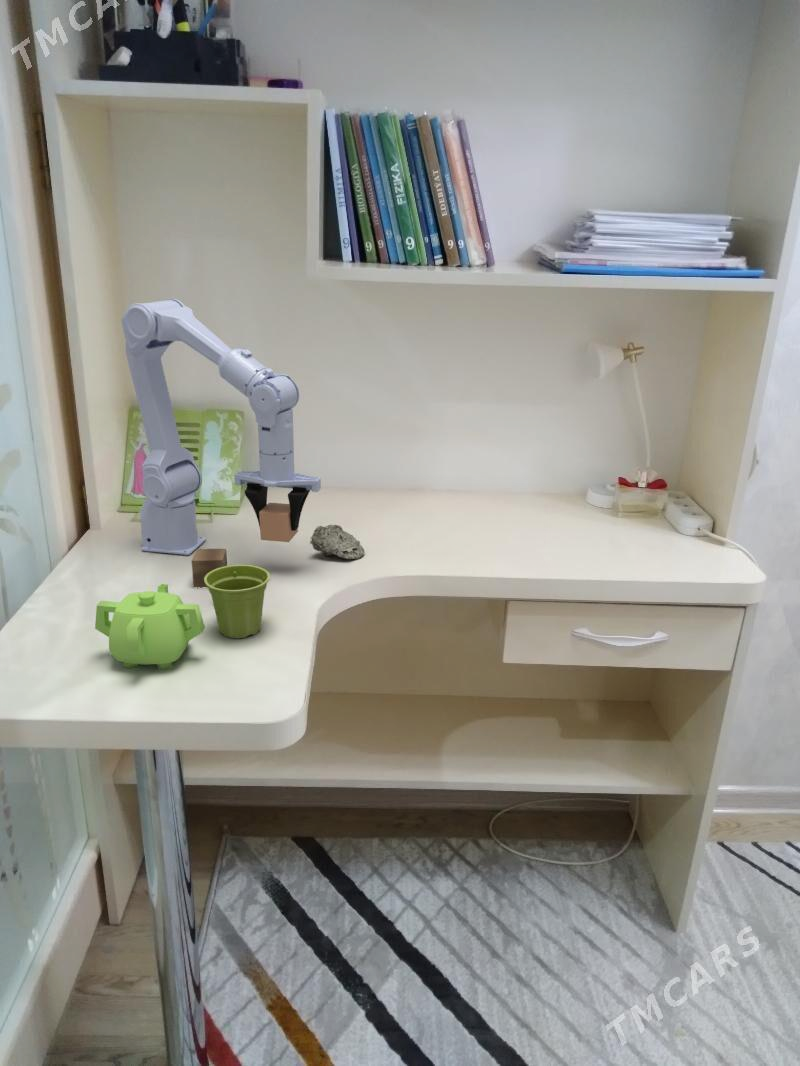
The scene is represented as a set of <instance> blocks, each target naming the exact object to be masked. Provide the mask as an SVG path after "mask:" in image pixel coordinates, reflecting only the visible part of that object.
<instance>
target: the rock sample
mask: <svg viewBox="0 0 800 1066" xmlns="http://www.w3.org/2000/svg"><path fill="white" fill-rule="evenodd" d="M309 545H311V546H312V548H313V549H314V550H315V551H318V552H320V553H322V554H323V555H324V556H332V555H334V556H337V557H339V558H343V559H345V560H359V559H360V558H361V557H363V555H364V554H365V549H364V547H363V546H362V545H361V542H360V541H359V540H358V539H357V537H354V535H353V534H350V533H349V532H347V531H344V530H343V528H342V526H341V525H337V524H328V525H325V526H322V525H317V526H316V528H315V530H314V531H313V533H312V536H311V539H310V541H309ZM331 554H332V555H331Z"/></svg>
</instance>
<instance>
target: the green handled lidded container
mask: <svg viewBox="0 0 800 1066" xmlns="http://www.w3.org/2000/svg"><path fill="white" fill-rule="evenodd" d="M157 587H158V588H157V590H156V591H151V590H146V591H140V592H132V593H128V594H126V595H125V597H123V599H122V600H121V601H120V602H119V601H109V600H100V601H99V603H97V604H96V611H95V626H94V630H97V631H98V632H100V633H101V634H102V635H105V636H106V637H108V650H109V652H110V654H111V656H112V657H113V658H114V659H115V660H116V661H118V662H121V663H123V664H122V665H123V668H125V669H133V668H136V667H138V665H157V668H158V669H159V670H168V669H170V668H171V667H173V664H172V663H173V662H176V661H178V660H179V658H180V657H181V656H182V654H183V653H184V652H185V650H186V648H187V646H188V643H189V642H190V641H191V640H192V639H194V638H196V637H197V636H199V635H201V634H202V633H203V632H204V630H205V628H206V627H205V622H204V619H203V616H202V612H201V608H200V606H199V604H196V603H195V604H193V603H191V604H190V603H189V604H188V603H187V604H185V603H184V602H183V600H182V599H181V597H180V595H178V594H176V593H175V594H174V593H171V592H169V584H168V583H160V584H159V585H158V586H157ZM110 613H112V614H113V615H112V618H111V620H110Z"/></svg>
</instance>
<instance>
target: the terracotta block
mask: <svg viewBox="0 0 800 1066" xmlns="http://www.w3.org/2000/svg"><path fill="white" fill-rule="evenodd" d="M259 518H260V526H259V531H260V532H259V533H260V534H259V535H260V541H270V542H280V543H281V542H282V543H290V542H291V541H292V540H293V538H294V537H295V536H296V535H297V534H298V532H299V527H298V528H297V529H296V531H291V512H290V504H289V503H279V502H267V505H266V506H265V507H264V508H263V509H262V510H261V511H260V512H259Z"/></svg>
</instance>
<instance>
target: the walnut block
mask: <svg viewBox="0 0 800 1066" xmlns="http://www.w3.org/2000/svg"><path fill="white" fill-rule="evenodd" d="M227 552H228V551H227V548H197V549H196V550H194V554H193V556H192V559H191V570H192V581H193V582H192V583H193V588H194V587H197V588H196V589H199V588H198V587H200V589H202V588H201V587H207V586H206V584H205V582H204V578H205V576H206V575H207V574H208V573H209V572H211V571H213V570H215V569H217V568H220V567H225V566H228V553H227Z"/></svg>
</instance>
